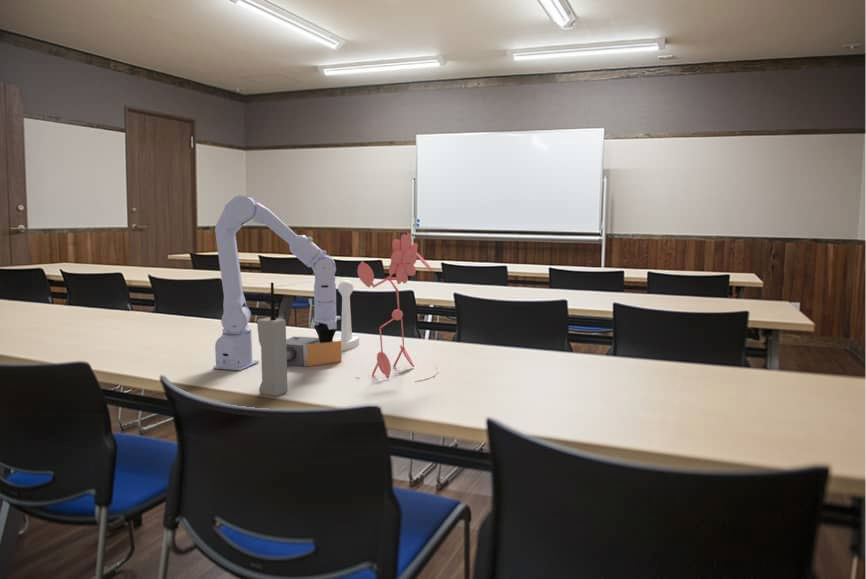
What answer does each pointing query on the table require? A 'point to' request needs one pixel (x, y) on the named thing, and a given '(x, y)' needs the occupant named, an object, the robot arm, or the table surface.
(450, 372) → the table surface
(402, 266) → the figurine
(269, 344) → the vintage mobile phone
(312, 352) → the side door
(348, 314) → the joystick
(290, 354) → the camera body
